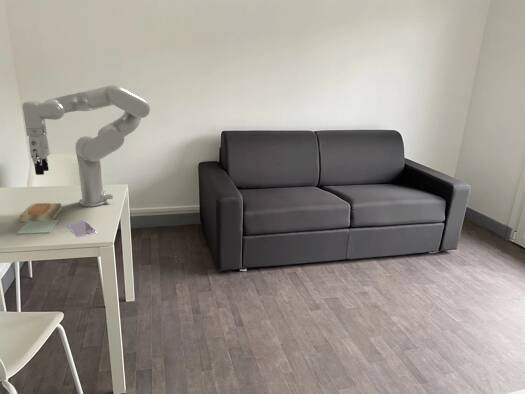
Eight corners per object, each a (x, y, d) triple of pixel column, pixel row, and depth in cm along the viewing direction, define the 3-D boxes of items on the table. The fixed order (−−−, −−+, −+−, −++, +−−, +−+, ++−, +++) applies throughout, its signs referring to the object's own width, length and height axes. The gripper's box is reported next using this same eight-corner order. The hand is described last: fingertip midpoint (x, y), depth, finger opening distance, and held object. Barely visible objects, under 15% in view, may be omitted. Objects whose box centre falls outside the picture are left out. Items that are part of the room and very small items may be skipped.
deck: (61, 209, 184) (60, 203, 183) (52, 221, 171) (51, 214, 170) (33, 210, 182) (32, 203, 181) (21, 222, 169) (19, 215, 168)
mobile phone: (85, 219, 172) (97, 231, 161) (85, 221, 172) (98, 233, 162) (66, 223, 167) (77, 236, 157) (66, 226, 168) (78, 238, 157)
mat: (59, 221, 171) (59, 220, 171) (49, 233, 160) (49, 232, 160) (28, 221, 169) (28, 221, 169) (16, 234, 158) (16, 233, 158)
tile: (50, 207, 178) (49, 203, 178) (43, 214, 170) (43, 210, 169) (35, 207, 177) (35, 203, 176) (28, 214, 169) (27, 210, 168)
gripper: (39, 135, 165) (45, 178, 170) (52, 128, 180) (57, 167, 186) (19, 135, 163) (25, 178, 169) (34, 128, 179) (39, 167, 185)
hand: (42, 172), depth 178 cm, fingers open, 5 cm apart
